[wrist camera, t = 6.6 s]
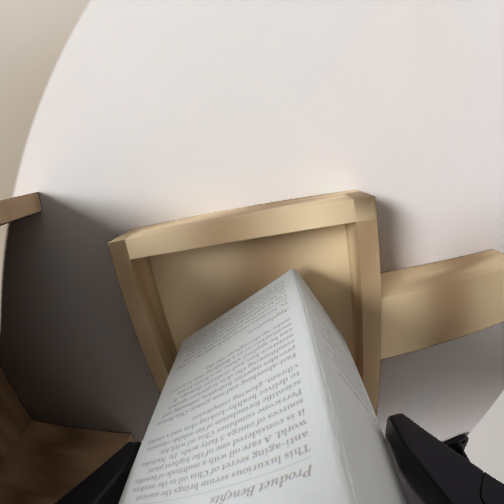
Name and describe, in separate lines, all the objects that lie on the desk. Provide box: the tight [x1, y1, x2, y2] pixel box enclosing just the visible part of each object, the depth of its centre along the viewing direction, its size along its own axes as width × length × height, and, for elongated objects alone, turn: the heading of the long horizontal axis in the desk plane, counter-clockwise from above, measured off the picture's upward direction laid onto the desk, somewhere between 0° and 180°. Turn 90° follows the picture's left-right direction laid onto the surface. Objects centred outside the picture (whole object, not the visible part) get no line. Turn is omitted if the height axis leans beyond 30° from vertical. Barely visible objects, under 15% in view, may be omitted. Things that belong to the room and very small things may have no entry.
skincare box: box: [119, 269, 408, 504], centre depth 8 cm, size 6×4×12 cm
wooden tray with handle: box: [107, 190, 504, 417], centre depth 13 cm, size 18×11×3 cm, turn 100°
